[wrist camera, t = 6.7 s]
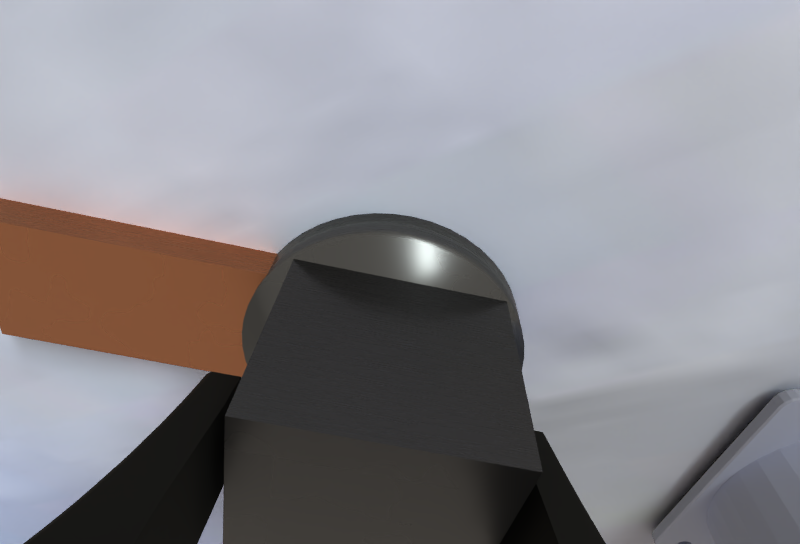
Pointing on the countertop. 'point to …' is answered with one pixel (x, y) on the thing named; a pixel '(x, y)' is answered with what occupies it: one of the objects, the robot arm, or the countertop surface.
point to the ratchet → (201, 281)
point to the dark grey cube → (378, 417)
